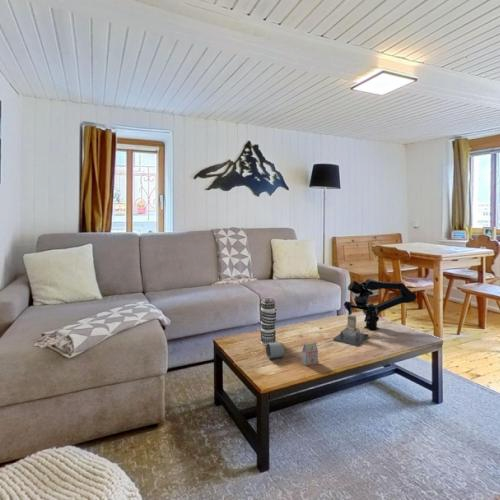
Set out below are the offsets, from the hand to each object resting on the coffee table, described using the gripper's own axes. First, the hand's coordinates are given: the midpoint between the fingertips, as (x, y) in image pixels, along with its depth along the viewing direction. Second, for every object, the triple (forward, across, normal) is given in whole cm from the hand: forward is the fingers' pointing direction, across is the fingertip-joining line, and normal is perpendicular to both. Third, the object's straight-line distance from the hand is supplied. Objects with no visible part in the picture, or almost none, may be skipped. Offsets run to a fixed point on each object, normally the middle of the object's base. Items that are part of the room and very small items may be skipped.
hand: (356, 320), depth 194 cm
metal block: (+10, -1, +1) cm, 11 cm away
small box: (+41, -7, -28) cm, 50 cm away
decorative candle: (+34, -37, -21) cm, 55 cm away
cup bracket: (+11, -1, +2) cm, 11 cm away
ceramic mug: (+43, -25, -30) cm, 58 cm away
